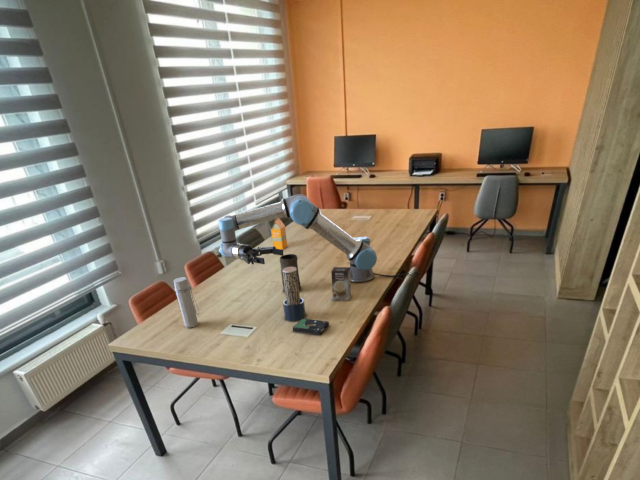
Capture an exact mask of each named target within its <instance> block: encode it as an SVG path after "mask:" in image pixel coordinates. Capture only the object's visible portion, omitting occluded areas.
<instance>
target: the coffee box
mask: <svg viewBox="0 0 640 480" xmlns="http://www.w3.org/2000/svg"><path fill="white" fill-rule="evenodd" d="M330 272H331V273H330V274H331V289H332V290H331V291H332V301H350V299H351V297H352V284H351V283H352V282H351V280H350V266H349V267H348V266H333V268H332V269H331V271H330Z"/></svg>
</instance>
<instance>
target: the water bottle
mask: <svg viewBox="0 0 640 480" xmlns="http://www.w3.org/2000/svg"><path fill="white" fill-rule="evenodd" d="M173 285H174V291H175V295H176V298H177V301H178V305H179V309H180V312H181V316H182V320H183V324H184V326H185V328H190V329H191V328H194V327H197V326H198V324H199V321H198V318H197V317H198V316H197V315H200V310H199V306H198V304H197V301H196V300H195V296H194V294H193V291H192V286H190V285H189V282H188V279H187V277H185V276H182V277H176V278H175V279H173ZM195 305H196V306H195ZM196 308H197V309H196Z"/></svg>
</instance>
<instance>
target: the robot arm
mask: <svg viewBox="0 0 640 480" xmlns="http://www.w3.org/2000/svg"><path fill="white" fill-rule="evenodd" d="M278 218H280V219H283V218H286V219H289V218H291V220H292V222H294V223H295V224H297V225H300V226H302V227H303V228H304V229H306V230H313V231H314V232H315V233H316V234H318V235H319V236H321V237H322V238H323V239H325V240H326V241H327V242H329V243H330V244H332V245H333V246H334V247H336V248H337V249H338V250H339V251H341V252H343V253H344V254H345V255H346V259H347V260H348V261H349V267H350V280H351V283H354V284H360V283H367V282H369V281H372V280H373V279H374V277H375V276H379V277H387V278H396V277H397V278H399V277H403V276H406V275H407V276H409V275H410V274H409V273H410V272H406V273H402V274H401V273H400V274H380V273H375V272H374V271H373V268H374V266H375V265H376V263H377V261H378V257H377V253H376V250H374V249H373V248H372V246H371V238H370V237H369V236H358V237H353V236H351V235H350V234H348V233H347V232H346V231H345V230H344V229H342V228H341V227H339V226H338V225H337V224H335V223H334V222H333V221H331V220H330V219H329V218H327V217H326V216H325V215H324V214H323V213H321V209H320V208H319V207H318V206H317V205H315V204H314V203H313V202H311V200H310V199H309V197H308V196H307V195H305V194H301V193H298V194H294V195H290V196H288V197H285V198H281V201H279V202H275V203H272V204H268V205H264V206H261V207H258V208H254V209H250V210H248V211H244V212H239V213H237V214H233V215H229V214H228V215H226V216H224V217H222V218H220V219H219V220H218V229H219V233H220V237H221V243H220V245H219V249H218V250H219V253H220V254H221V256H223V257H226V258H231V259H237V260H240V261H244V262H245V263H246V264H247V265H254V264H260V265H266V263H265V262H266V261H265V258H264V257H261V256H263V255H270V254H271V255H277V256H283V255H284V249H283V250H282V249H276V247H274V246H273V245H272V246H258V247H257V248H253V246H252V245H250V244H244V243H238V242H237V236H236V231H239V230H242V229H245V228H249V227H252V226H253V227H254V226H256V225H260V224H263V223H267V222H271V221H275V220H277V219H278ZM414 272H415V273H414V274H416V275H419V276H422V274H421V273H420V272H418V271H414ZM408 274H409V275H408ZM414 274H413V275H414Z"/></svg>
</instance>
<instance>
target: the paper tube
mask: <svg viewBox="0 0 640 480" xmlns="http://www.w3.org/2000/svg"><path fill="white" fill-rule="evenodd" d="M283 277H284V285H285V292H284V293H285V300H286V301H287V305H296V304H299V303H300V298H301V297H300V291H299V286H298V277H297V269H296V267H286V268H284V269H283Z"/></svg>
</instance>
